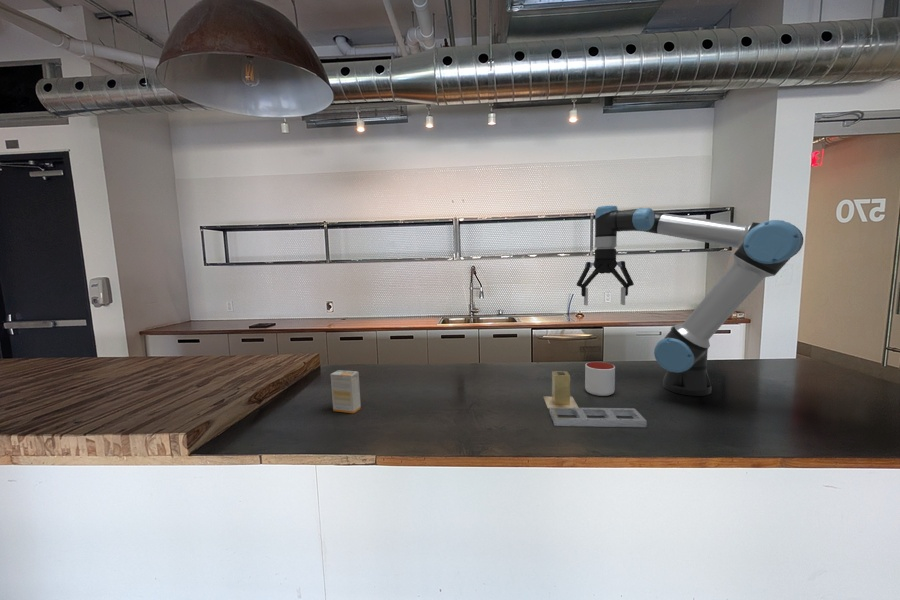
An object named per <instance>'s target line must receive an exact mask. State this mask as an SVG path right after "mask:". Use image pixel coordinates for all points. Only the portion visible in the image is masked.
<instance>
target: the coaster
mask: <svg viewBox="0 0 900 600" xmlns="http://www.w3.org/2000/svg"><path fill="white" fill-rule="evenodd" d="M542 397H543V400H544V402H545V406H546V407H547V409H548V410H550V407H565V408H580V407H579V406H578V404H577V402H576V400H575V399H574V397H573V396H570V405H555V404H554V402H553V400H552V396H542Z"/></svg>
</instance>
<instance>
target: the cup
mask: <svg viewBox="0 0 900 600" xmlns="http://www.w3.org/2000/svg"><path fill="white" fill-rule="evenodd" d="M584 366H585V367H584V371H585V372H584V374H585V375H584V378H585V379H584V381H585V382H584V387H585V388H584V389H585V391H586V392H587V393H588V394H590V395H594V396H598V397H608V396H610V395H611V396H612V395H613V394H614V393H615V387H616V385H615V384H616V383H615V382H616V366H615V365H614V364H612V363H608V362H605V361H590V362H587V363H585V365H584Z"/></svg>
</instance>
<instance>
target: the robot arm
mask: <svg viewBox="0 0 900 600" xmlns="http://www.w3.org/2000/svg"><path fill="white" fill-rule="evenodd" d="M594 217H595V218H594V227H595V229H594V232H595V233H594V248H596V249H594V261H593V262H591V261H586V262H585V266H584V269H583V271H582V273H581V275H580V277H579V279H578V280H577V282H576V286H577V287H579V288H581V289H580V290H581V293H580V295H581V297H583V305H584V306H589V287H588V286H589V284H590V283H591V282H592V281H593V280H594V279H595V278H596V276H598V275H599V274H601V275H602V274H612V275H613V276H614V277H615V278H616V280H617V281H618V282H619V283H620V284H621V285H622V286H621V287H620V305H622V306H625V305H626V297H627V296H629V288H630V287H631V286H634V281H633V279H632V277H631V275H630V273H629V271H628V269H627V267H626V262H625V260H620V261H617V249H616V247H617V238H618V237H617V236H618V235H617V234H618V233H619V232H642V233H643V232H645V233H651V234H656V235H662V236H669V237H675V238H679V239H684V240H685V239H687V240H691V241H698V242H702V243H708V244H714V245H719V246H720V245H721V246H725V247H731V248H734V249H735V248H736V249H737V250H736V251H735V252H734V253H733V255H732V256H733V260H734V262H733V263H732V264H731V265H730V266H729V268H728V269H727V270H726V272H724V274H723V275H722V277H721V278H720V279H719V280H718V281H717V282H716V284H715V285H714V286H713V287H712V288H711V290H710V291H709V292H708V293H707V294H706V295H705V297H703V299H702V300H701V302H700V303H699V304H698V305H697V306H696V307H695V308H694V309H693V311H692V312H691V314H689V316H688V317H686V319H685V320H684V322H683V323H676V324H675V325H673V326H671V327H670V331H668V333H667V334H666V335H665V336H664V338H662V339H660V340H659V341H658V342H657V343H656V345H655V346H654V351H653V355H654V358H655V361H656V363H657V364H658V365H659V367H661V368H663V369H664V370H666V372H665V374H664V377H663V379H662V387H663V388H664V389H665V390H667V391H669V392H671V393H672V392H673V393H675V394H679V395H684V396H685V395H686V396H692V397H703V396H704V397H705V396H709V395H710V394H712V384H711V381H710V378H709V374H708V370H707V368H708V367H707V366H708V352H709V351H708V350H709V348H710V346H711V345H710V339H711V338H712V337H713V336H714V334H716V332H718V330H719V329H720V328H721V326H723V324H724V323H725V322H726V321H727V320H728V319H729V318H730V317H731V315H732V314H734V312H735V311H736V310H737V309H738V308H739V306H740V305H741V304H743V302H744V301H746V299H747V297H748V296H750V295H751V293H753V291H754V290H755V289H756V288H757V287H758V286H759V285H760V283H761V282H762V281H763V280H764V279H766V278H769V277H775V276H776V275H777V274H778V273H779V271H780V270H781V269H782V268H783V267H784V266H785V265H786V264H787V262H789V261H790V259H791V258H792V257H794V256H796V255H797V254H798V253H799V252H800V251H801V249H802V247H803V245H804V236H803V233H802V231H801V229H799V228H798V227H797V226H796V225H795V224H792V223H791V222H788V221H785V220H780V219H771V220H766V221H763V222H753V221H752V222H750V223H748V224H744V223H737V222H729V221H722V220H714V219H707V218H700V217H694V216H686V215H685V216H684V215H677V214H672V213H671V214H670V213H664V212H659V211H658V212H656V211H654V209H652V208H650V207H639V208H630V209H624V210H623V209H622V210H620V209H618V206H617V205H601V206H597V207H596V209H595V216H594ZM617 266H618V268H620V271H621V273H622V274H623V276H624V278H625V279H624V278H623V276H622V275H621V274H619V272H618V271H617V269H616V268H617ZM592 267H594V270H593V271H592V272H591V274H589V276H588V273H589V271H590V270H591V268H592ZM587 276H588V277H587ZM586 277H587V278H586ZM585 279H586V280H585Z"/></svg>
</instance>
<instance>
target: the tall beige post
mask: <svg viewBox="0 0 900 600" xmlns="http://www.w3.org/2000/svg"><path fill="white" fill-rule="evenodd" d="M551 397H552V400H553V402H554V404H555V405H570V397H571V375H570V373H569V372H568V371H565V370H563V371H562V370H559V371H558V370H553V371H551Z"/></svg>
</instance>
